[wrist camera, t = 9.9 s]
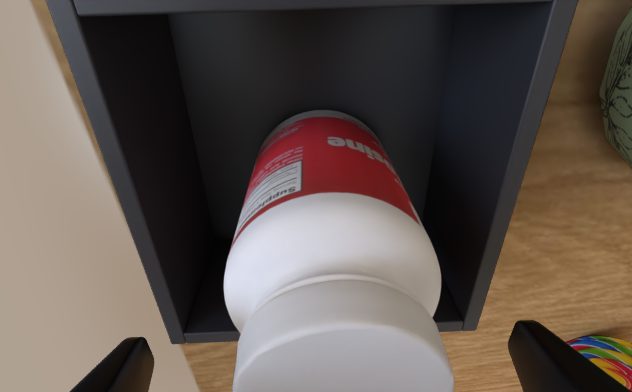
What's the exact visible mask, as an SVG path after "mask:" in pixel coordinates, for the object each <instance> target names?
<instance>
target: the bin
mask: <svg viewBox="0 0 632 392" xmlns="http://www.w3.org/2000/svg"><path fill="white" fill-rule="evenodd" d="M46 3H47V5H48V8H49V11H50V13H51V16H52V19H53V22H54V24H55V27H56V30H57V33H58V35H59V38H60V41H61V43H62V46H63V49H64V52H65V54H66V57H67V60H68V63H69V65H70V68H71V71H72V73H73V76H74V79H75V82H76V84H77V87H78V90H79V93H80V95H81V98H82V101H83V103H84V106H85V109H86V112H87V114H88V117H89V120H90V123H91V125H92V128H93V131H94V134H95V136H96V139H97V142H98V144H99V147H100V150H101V153H102V155H103V158H104V161H105V164H106V166H107V169H108V172H109V174H110V177H111V180H112V183H113V185H114V188H115V191H116V194H117V196H118V199H119V202H120V204H121V207H122V210H123V213H124V215H125V218H126V221H127V224H128V226H129V229H130V232H131V234H132V237H133V240H134V243H135V245H136V248H137V251H138V254H139V256H140V259H141V262H142V264H143V267H144V270H145V273H146V275H147V278H148V281H149V283H150V286H151V289H152V292H153V295H154V297H155V300H156V303H157V305H158V307H159V311H160V313H161V316H162V319H163V322H164V325H165V327H166V330H167V332H168V335H169V338H170V341H171V343H172V344H185V343H186V342H187V343H208V342H230V341H239V338H240V335H241V333H240V332H239V331H238V329H237V328H236V326H235V325H234V323H233V321H232V319H231V317H230V315H229V312H228V310H227V307H226V303H225V297H224V275H225V269H226V263H227V259H228V255H229V252H230V249H231V246H232V243H233V239H234V235H235V232H236V229H237V225H238V222H239V218H240V214H241V211H242V207H243V204H244V201H245V197H246V194H247V190H248V186H249V183H250V179H251V176H252V173H253V169H254V165H255V162H256V159H257V156H258V153H259V151H260V148H261V146H262V144H263V142H264V141H265V139H266V138H267V136H268V135H269V134H270V133H271V132H272V131H273V130H274V129H275V128H276V127H277V126H278V125H279V124H281V123H282V122H284V121H285V120H287V119H289V118H291V117H293V116H295V115H297V114H300V113H303V112H308V111H313V110H332V111H338V112H342V113H345V114H347V115H350V116H352V117H354V118H356V119H358V120H360V121H361V122H362V123H364V124H365V125H366V126H367V127H368V128H370V130H371V131H372V132H373V133H374V134H375V135H376V137H377V138H378V139H379V141H380V142H381V144H382V146H383V148H384V149H385V151H386V153H387V155H388V157H389V159H390V161H391V163H392V165H393V167H394V169H395V171H396V173H397V175H398V177H399V179H400V181H401V183H402V185H403V187H404V189H405V191H406V193H407V195H408V197H409V199H410V201H411V202H412V204H413V207H414V209H415V211H416V213H417V215H418V217H419V219H420V221H421V223H422V225H423V227H424V229H425V231H426V233H427V235H428V237H429V239H430V241H431V243H432V246H433V248H434V251H435V253H436V256H437V259H438V263H439V267H440V272H441V292H440V298H439V302H438V305H437V308H436V311H435V313H434V315H433V317H432V318H433V320H434V322H435V323H436V325H437V328H438V331H439V332H452V331H461V330H462V331H475V330H476V329H477V325H478V322H479V319H480V316H481V313H482V309H483V306H484V303H485V300H486V296H487V293H488V290H489V287H490V284H491V280H492V277H493V274H494V271H495V267H496V264H497V261H498V258H499V255H500V251H501V248H502V245H503V242H504V238H505V235H506V232H507V229H508V226H509V222H510V219H511V216H512V213H513V209H514V206H515V203H516V200H517V197H518V193H519V190H520V187H521V184H522V180H523V177H524V174H525V171H526V168H527V164H528V161H529V158H530V155H531V151H532V148H533V145H534V142H535V139H536V135H537V132H538V129H539V126H540V122H541V119H542V116H543V113H544V110H545V106H546V103H547V100H548V97H549V93H550V90H551V87H552V84H553V81H554V77H555V74H556V71H557V68H558V64H559V61H560V58H561V55H562V52H563V48H564V45H565V42H566V39H567V35H568V32H569V29H570V26H571V23H572V19H573V16H574V13H575V10H576V6H577V3H578V0H46Z"/></svg>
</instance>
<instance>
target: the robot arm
mask: <svg viewBox="0 0 632 392" xmlns="http://www.w3.org/2000/svg"><path fill="white" fill-rule="evenodd" d="M508 349H509V353H510V356H511V358H512V361H513V364H514V367H515V369H516V372H517V375H518V378H519V380H520V383H521V386H522V389H523V391H524V392H632V391H631V390H629V389H628V388H627V387H625V386H624V385H622V384H621V383H620V382H618V381H617V380H616V379H614V378H613V377H612V376H610V375H609V374H608V373H606V372H605V371H604V370H602V369H601V368H600V367H598V366H597V365H596V364H594V363H593V362H591V361H590V360H589V359H587V358H586V357H585V356H583V355H582V354H581V353H579V352H578V351H577V350H575V349H574V348H573V347H571V346H570V345H569V344H567V343H566V342H564V341H563V340H562V339H560V338H559V337H558V336H556V335H555V334H554V333H552V332H551V331H550V330H548V329H547V328H546V327H544V326H543V325H542V324H540V323H539V322H537V321H534V320H520V321H517V322H516V323H515V326H514V328H513V331H512V333H511V336H510V338H509V341H508ZM153 368H154V357H153V355H152V352H151V350H150V348H149V345H148V343H147V341H146V339H145V338H144V337H130V338H127V339H125V340H123V341H122V342H121V343H120V344H119V345H118V346H117V347H116V348H115V349H114V350H113V351H112V352H111V353H110V354H109V355H107V357H105V358H104V359H103V360H102V361H101V362H100V363H99V364H98V365H97V366H96V367H95V368H94V369H93V370H92V371H91V372H90V373H89V374H88V375H87V376H86V377H84V378H83V380H81V381H80V382H79V383H78V384H77V385H76V386H75V387H74V388H73V389H72V390H71V391H70V392H148V390H149V386H150V381H151V377H152V373H153Z"/></svg>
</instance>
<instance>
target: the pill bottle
mask: <svg viewBox="0 0 632 392" xmlns="http://www.w3.org/2000/svg"><path fill="white" fill-rule="evenodd" d="M440 292H441V272H440V267H439V263H438V259H437V256H436V253H435V251H434V248H433V246H432V243H431V241H430V239H429V237H428V235H427V233H426V231H425V229H424V227H423V225H422V223H421V221H420V219H419V217H418V215H417V213H416V211H415V209H414V207H413V204H412V202H411V201H410V199H409V197H408V195H407V193H406V191H405V189H404V187H403V185H402V183H401V181H400V179H399V177H398V175H397V173H396V171H395V169H394V167H393V165H392V163H391V161H390V159H389V157H388V155H387V153H386V151H385V149H384V148H383V146H382V144H381V142H380V141H379V139H378V138H377V137H376V135H375V134H374V133H373V132H372V131H371V130H370V128H368V127H367V126H366V125H365V124H364V123H362V122H361V121H360V120H358V119H356V118H354V117H352V116H350V115H347V114H345V113H342V112H338V111H332V110H313V111H308V112H303V113H300V114H297V115H295V116H293V117H291V118H289V119H287V120H285V121H284V122H282V123H281V124H279V125H278V126H277V127H276V128H275V129H274V130H273V131H272V132H271V133H270V134H269V135H268V136H267V138H266V139H265V141H264V142H263V144H262V146H261V148H260V151H259V153H258V156H257V159H256V162H255V165H254V169H253V173H252V176H251V179H250V183H249V186H248V190H247V194H246V197H245V201H244V204H243V207H242V211H241V214H240V218H239V222H238V225H237V229H236V232H235V235H234V239H233V243H232V246H231V249H230V252H229V255H228V259H227V263H226V269H225V275H224V297H225V303H226V307H227V310H228V312H229V315H230V317H231V319H232V321H233V323H234V325H235V326H236V328H237V329H238V331H239V332H240V333H241V335H240V338H239V341H238V348H237V359H236V367H235V374H234V381H233V391H232V392H453V390H454V378H453V373H452V369H451V366H450V363H449V360H448V357H447V354H446V351H445V348H444V345H443V342H442V339H441V336H440V333H439V331H438V328H437V325H436V323H435V322H434V320H433V318H432V317H433V315H434V313H435V311H436V308H437V305H438V302H439V298H440Z"/></svg>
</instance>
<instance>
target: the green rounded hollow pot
mask: <svg viewBox="0 0 632 392" xmlns="http://www.w3.org/2000/svg"><path fill="white" fill-rule="evenodd" d="M599 95H600V102H601V110H602V117H603V124H604V131H605V138H606V139H607V140H608V141H609V143H610V144H611V145H612V146H613V147H614V148H615V149H616V151H617V152H618V153H619V154H620V155H621V156H622V158H623V159H624V160H625V161H626V162H627V163H628V164H629V166H630V167H631V168H632V8H631V10H630V11H629V13H628V15H627V16H626V18H625V19H624V21H623V22H622V24H621V25H620V27H619V29H618V30H617V33H616V36H615V40H614V43H613V47H612V50H611V53H610V57H609V60H608V63H607V67H606V70H605V74H604V77H603V80H602V84H601V87H600V90H599Z"/></svg>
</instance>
